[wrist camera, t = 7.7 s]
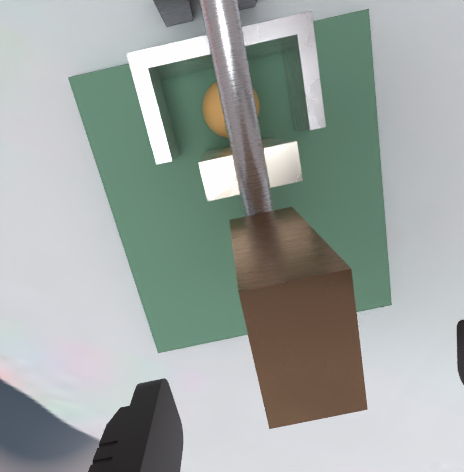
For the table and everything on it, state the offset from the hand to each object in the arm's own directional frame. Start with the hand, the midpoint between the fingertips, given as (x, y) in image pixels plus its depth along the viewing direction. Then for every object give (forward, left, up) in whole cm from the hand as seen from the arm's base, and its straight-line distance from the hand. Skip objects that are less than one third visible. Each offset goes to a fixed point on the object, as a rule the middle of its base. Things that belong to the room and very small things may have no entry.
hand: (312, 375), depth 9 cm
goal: (0, -9, -20) cm, 22 cm away
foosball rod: (0, -13, -19) cm, 23 cm away
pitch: (0, -1, -21) cm, 21 cm away
